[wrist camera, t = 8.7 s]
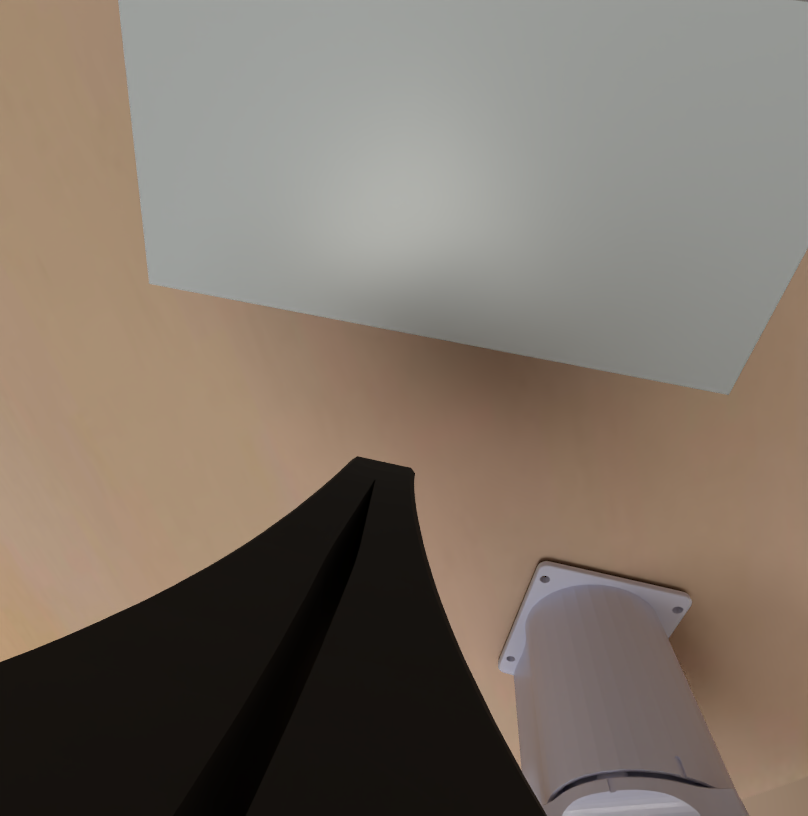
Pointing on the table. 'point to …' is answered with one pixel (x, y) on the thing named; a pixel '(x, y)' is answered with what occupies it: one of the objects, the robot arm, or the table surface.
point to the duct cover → (483, 168)
